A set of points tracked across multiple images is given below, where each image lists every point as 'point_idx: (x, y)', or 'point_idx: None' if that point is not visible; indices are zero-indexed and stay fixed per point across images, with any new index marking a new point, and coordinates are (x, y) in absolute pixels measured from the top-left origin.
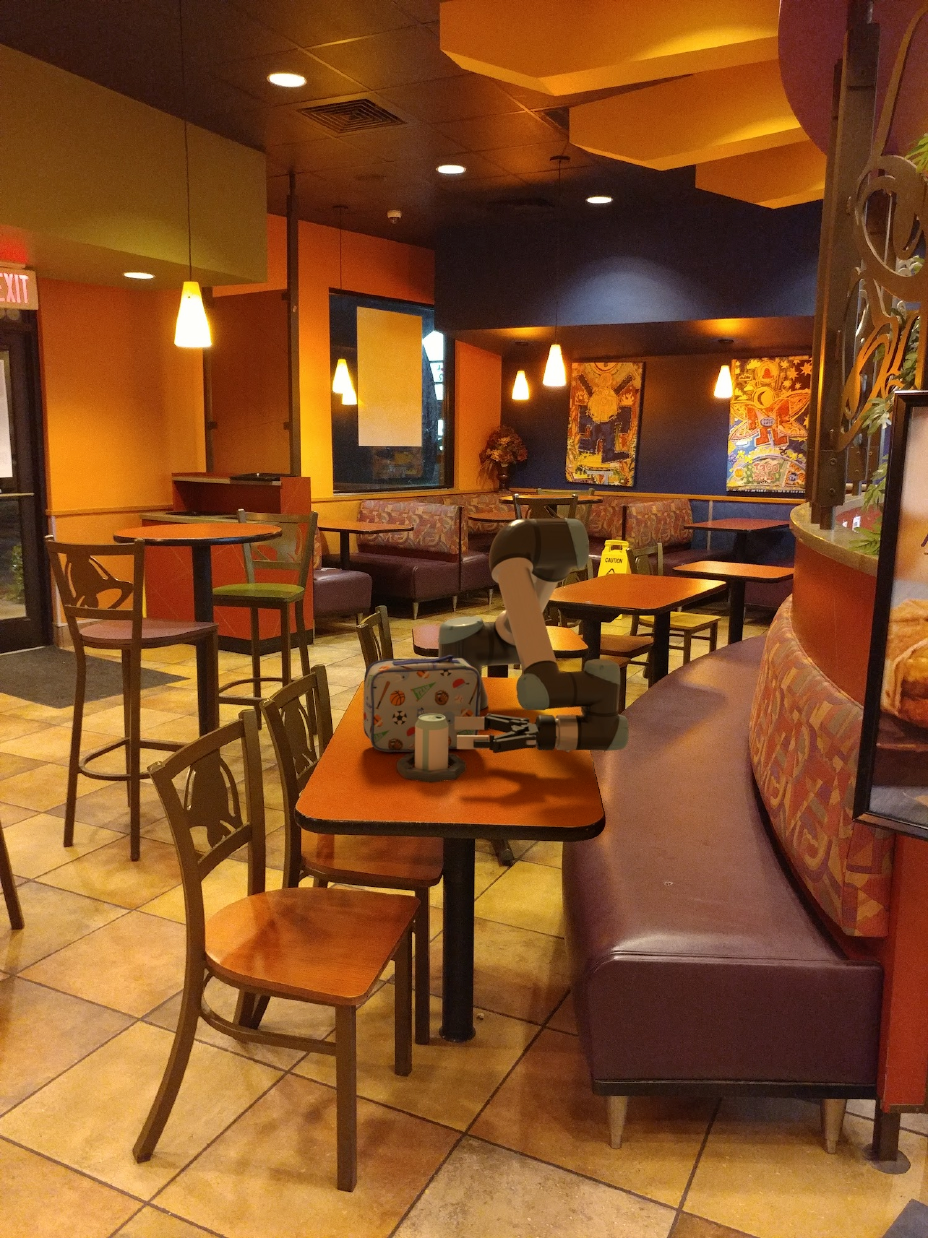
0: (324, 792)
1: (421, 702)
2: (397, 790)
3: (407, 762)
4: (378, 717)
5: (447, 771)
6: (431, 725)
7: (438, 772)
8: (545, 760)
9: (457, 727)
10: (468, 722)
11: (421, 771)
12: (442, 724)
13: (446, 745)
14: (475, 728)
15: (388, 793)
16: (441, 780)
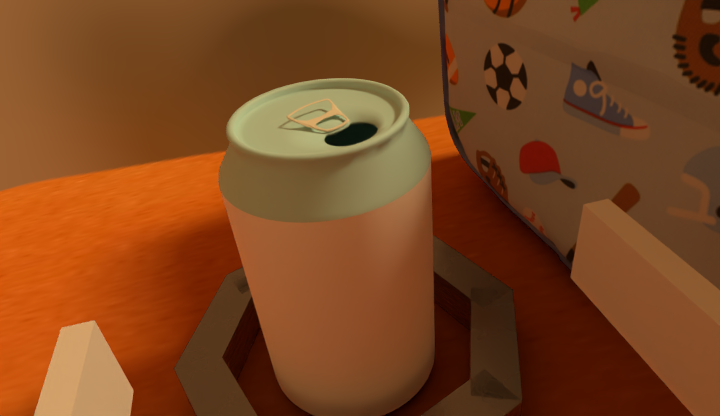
0: (121, 181)
1: (592, 30)
2: (109, 314)
3: None
4: (449, 46)
5: None
6: (227, 153)
7: (191, 397)
8: None
9: (584, 279)
10: (651, 308)
11: (206, 327)
12: (261, 185)
13: (309, 320)
14: (685, 398)
15: (81, 299)
16: None
